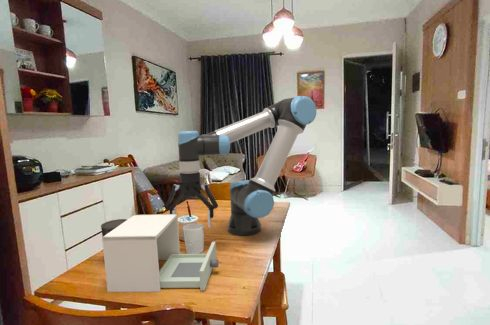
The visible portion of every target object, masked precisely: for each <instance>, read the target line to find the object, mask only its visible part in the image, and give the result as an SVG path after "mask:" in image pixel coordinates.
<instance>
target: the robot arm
mask: <svg viewBox="0 0 490 325" xmlns="http://www.w3.org/2000/svg"><path fill="white" fill-rule="evenodd" d="M262 110H263V111H261V112H257V113H256V114H253V115H251V116H248V117H246V118H244V119H241V120H238V121H236V122H232V123H231V124H227V125H226V126H223V127H221V128H218V129H216V130H214V131H211V132H208V133H206V134H201V135H200V134H199V131H197V130H182V131H179V132H178V136H177V137H178V138H177V140H178V141H177V145H178V161H179V164H178V166H179V184H176V183H174V184H173V185H171V192H170V194H169V196H168V199H167V201H166V203H165V205H164V210H169V214H177V209H176V207H177V205H178V204H179V203H180V201H181V200H182V199H183V198H184V196H185V197H186V198H187V197H197V198H198V199H199V200H200V201H201V202H202V203H203V204H204V205H205V206H206V207H207V208H208V209H207V227H208V228H211V226H212V219H213V218H214V216H215V214H214V212H215V211H214V210H215V209H217V208H218V207H219V205H218V202H217V201H216V198H215V197H214V195H213V192H212V191H211V190H210V184H209V183H206V184H201V183H202V182H201V173H200V170H201V165H200V163H201V162H200V156H201V157H202V156H216V155H219V156H221V155H228V154H229V153H230V150H231V144H232V143H234V142H237V141H240V140H242V139H244V138H246V137H248V136H252V135H253V134H256V133H258V132H260V131H263V130H266V129H268V128H271V129H273V128H275V127H277V131H276V133H275V134H274V137H273V139H272V141H271V143H270V145H269V147H268V149H267V151H266V153H265V155H264V158H263V160H262V162H261V164H260V167H259V169H258V170H257V173H256V174H255V176H254V177H252V178H249V180H248V179H245V180H238V181H237V180H236V181H232V182H230V184H229V195H230V218H229V220H228V225H227V231H228V233H230V235H231V234H232V235H234V236H235V235H236V236H251V235H255V234H258V233H259V232H261V230H262V228H261V221H260V219H263V218H265V217H267V216H268V215H269V214H271V213H272V211H273V209H274V206H275V200H274V195H275V193H276V189H275V184H276V182H277V180H278V178H279V176H280V174H281V172H282V169H283V167H284V165H285V163H286V161H287V159H288V157H289V155H290V152H291V150H292V148H293V146H294V144H295V142H296V139H297V138H298V135H300V134H303V133H304V131H305V129H306V127H307V125H310V124H311V123H313V122H314V121H315V119H316V117H317V107H316V104H315V101H314V100H313V99H312V98H311V97H308V96H306V95H297V96H294V97H290V98H289V97H288V98H284V99H281V100H279V101H278V102H275V103H273V104H271V105H270V106H267V107H265V108H263V109H262ZM202 189H203V191H204V192H205V193H206V195H207V197H208V198H206V197H205V195H204V194H203V193H202V192H201V190H202ZM178 190H180V192H181V193H180V194H179V196H178V197H177V198H176V199H175V200H174V202H173V199H174V198H175V195H176V193H177V191H178ZM172 202H173V204H172Z"/></svg>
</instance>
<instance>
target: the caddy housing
mask: <svg viewBox="0 0 490 325" xmlns="http://www.w3.org/2000/svg"><path fill="white" fill-rule="evenodd" d="M127 219H128V220H126V221H125V222H123V223H122V224H121V225H119V226H118V227H116V228H115V229H114V230H112V231H111V232H109V233H108V234H106V235H105V236H104V237H101V239H102V240H101V241H102V251H103V259H104V261H103V262H104V267H105V268H104V270H105V280H106V290H107V293H113V292H114V293H129V292H130V293H136V292H137V293H141V292H142V293H146V292H147V293H149V292H150V293H151V292H152V293H153V292H161V291H162V290H161V289H162V288H160V276H159V271H160V266H159V260H163V261H164V260H166V261H167V260H168V258H169V257H170V255H171V254H181V250H180V249H181V248H180V236H179V235H180V233H179V221H178V214H177V213H176V214H170V213H164V214H163V213H157V214H156V213H155V214H133V215H132V216H130V217H129V218H127Z"/></svg>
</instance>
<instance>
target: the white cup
mask: <svg viewBox="0 0 490 325" xmlns="http://www.w3.org/2000/svg"><path fill="white" fill-rule="evenodd" d="M204 227H205V226H204V224H203V223H201V222H195V223H194V222H193V223H188V224H185V225H183V227H182V230H183V239H184V244H185V251H186V254H202V253H203V252H204V251H205V250H204V247H205V246H204V244H205V241H204V240H205V230H204V229H205V228H204Z"/></svg>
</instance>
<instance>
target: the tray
mask: <svg viewBox="0 0 490 325" xmlns="http://www.w3.org/2000/svg"><path fill="white" fill-rule="evenodd" d="M216 244H217V242H216V241H212V242H211V243H210V245H209V248H208V251H207V253H199V254H188V253H180V254H171V255H170V257H169V258H168V260H166V261H165V262H164V264H163V265H162V267H161V268H160V269H159V276H160V289H163V288H164V289H165V288H166V289H168V288H170V289H171V288H173V289H174V288H179V289H181V288H183V289H184V288H187V289H188V288H191V289H192V288H197V289H198V288H200V291H206V287H207V285H208V282H209V279H210V276H211V274H212V270H213V268H219V259H217V246H216Z"/></svg>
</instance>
